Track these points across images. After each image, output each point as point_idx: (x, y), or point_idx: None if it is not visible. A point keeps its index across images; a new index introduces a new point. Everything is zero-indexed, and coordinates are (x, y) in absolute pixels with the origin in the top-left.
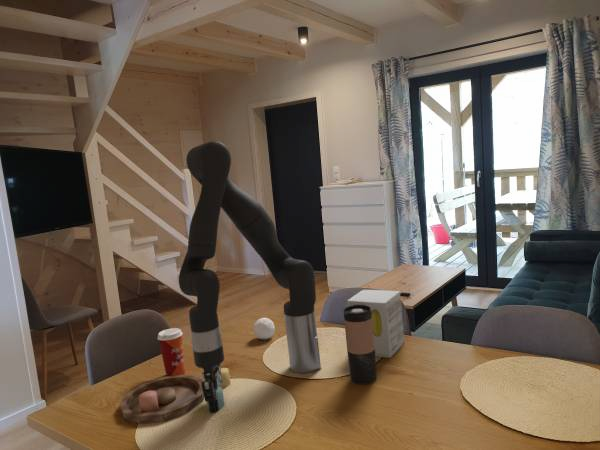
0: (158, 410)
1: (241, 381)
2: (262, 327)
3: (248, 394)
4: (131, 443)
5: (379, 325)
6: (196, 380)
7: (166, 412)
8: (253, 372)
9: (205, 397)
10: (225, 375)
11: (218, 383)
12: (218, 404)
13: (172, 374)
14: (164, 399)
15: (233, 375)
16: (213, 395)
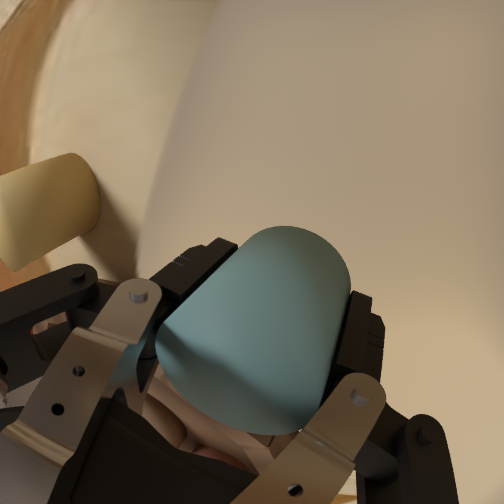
0: (222, 457)
1: (51, 99)
2: None
3: (177, 38)
4: (352, 499)
5: None
6: (53, 321)
7: None
8: (20, 56)
9: (401, 501)
10: (19, 201)
11: (138, 345)
12: (340, 313)
13: (32, 332)
14: (173, 445)
15: (18, 141)
16: (453, 487)
